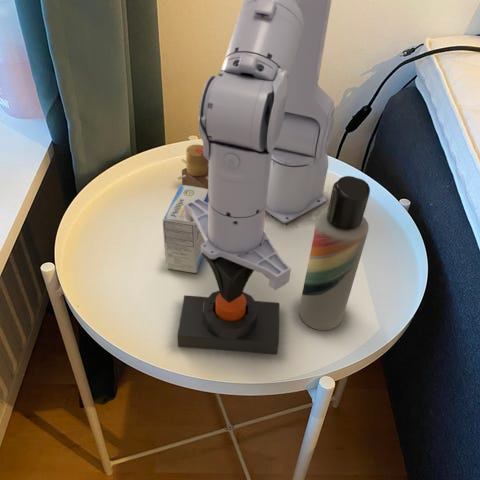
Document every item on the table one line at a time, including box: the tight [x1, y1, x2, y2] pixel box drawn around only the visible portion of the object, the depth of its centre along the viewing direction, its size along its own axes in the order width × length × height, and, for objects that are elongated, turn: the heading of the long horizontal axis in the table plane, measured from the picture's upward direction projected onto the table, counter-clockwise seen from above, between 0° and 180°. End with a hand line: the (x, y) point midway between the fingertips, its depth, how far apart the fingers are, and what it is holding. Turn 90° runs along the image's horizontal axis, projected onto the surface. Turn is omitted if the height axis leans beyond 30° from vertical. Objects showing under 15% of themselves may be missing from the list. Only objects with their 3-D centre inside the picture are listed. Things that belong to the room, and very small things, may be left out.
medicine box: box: [162, 184, 208, 274], centre depth 74 cm, size 8×4×9 cm, turn 168°
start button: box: [215, 293, 246, 322], centre depth 65 cm, size 4×4×2 cm
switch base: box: [176, 290, 280, 355], centre depth 67 cm, size 12×7×4 cm, turn 87°
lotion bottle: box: [298, 175, 371, 331], centre depth 63 cm, size 6×6×20 cm
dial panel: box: [177, 158, 209, 189], centre depth 87 cm, size 12×10×3 cm
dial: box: [185, 144, 207, 176], centre depth 84 cm, size 3×3×4 cm
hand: (231, 295), depth 64 cm, fingers closed
